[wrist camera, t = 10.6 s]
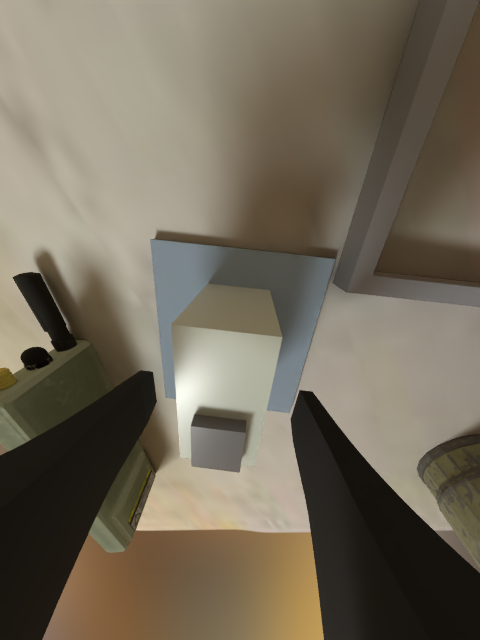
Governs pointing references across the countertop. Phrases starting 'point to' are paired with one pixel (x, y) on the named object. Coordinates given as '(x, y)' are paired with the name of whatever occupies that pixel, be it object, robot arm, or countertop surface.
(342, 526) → the robot arm
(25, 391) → the handheld radio
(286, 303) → the rubber mat
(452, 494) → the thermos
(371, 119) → the countertop surface
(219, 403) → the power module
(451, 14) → the gray rectangular frame
